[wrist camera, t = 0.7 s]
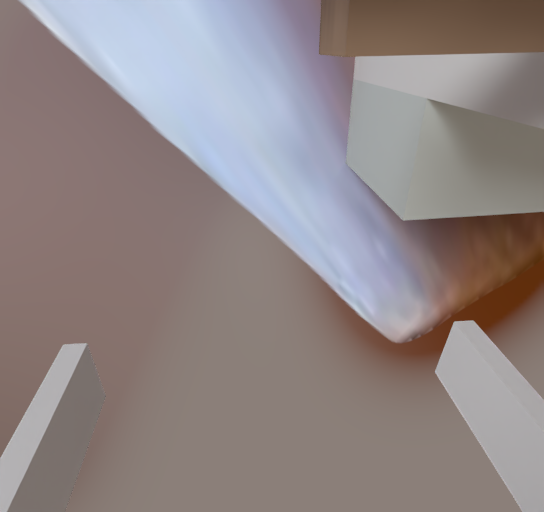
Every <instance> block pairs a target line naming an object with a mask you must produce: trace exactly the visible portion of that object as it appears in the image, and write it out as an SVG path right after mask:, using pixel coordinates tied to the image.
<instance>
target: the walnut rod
mask: <svg viewBox="0 0 544 512" xmlns="http://www.w3.org/2000/svg"><path fill="white" fill-rule="evenodd" d="M530 52H544V0H321V20H320V42H319V54H320V55H331V56H342V57H359V56H402V55H445V54H487V53H530Z"/></svg>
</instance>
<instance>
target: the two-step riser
mask: <svg viewBox="0 0 544 512" xmlns="http://www.w3.org/2000/svg"><path fill="white" fill-rule="evenodd" d="M346 164H347V165H348V166H349V167H350V168H351V169H352V170H353V171H354V172H355V173H356V174H357V175H358V176H359V177H360V178H361V179H362V180H363V181H364V182H365V183H366V184H367V185H368V186H369V187H370V188H371V189H372V190H373V191H374V192H375V193H376V194H377V195H378V196H379V197H380V198H381V199H382V200H383V201H384V202H385V203H386V204H387V205H388V206H389V207H390V208H391V209H392V210H393V211H394V212H395V213H396V214H397V215H398V216H399V217H400V218H401V219H402V220H403V221H404V220H420V219H436V218H452V217H467V216H483V215H499V214H515V213H531V212H544V52H530V53H487V54H445V55H402V56H359V57H355V67H354V78H353V89H352V100H351V111H350V121H349V132H348V143H347V154H346Z"/></svg>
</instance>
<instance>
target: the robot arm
mask: <svg viewBox="0 0 544 512" xmlns="http://www.w3.org/2000/svg"><path fill="white" fill-rule="evenodd" d="M435 373H436V374H437V376H438V378H439V379H440V381H441V382H442V384H443V386H444V387H445V389H446V390H447V392H448V394H449V395H450V397H451V398H452V400H453V402H454V403H455V405H456V406H457V408H458V410H459V411H460V413H461V414H462V416H463V417H464V419H465V421H466V422H467V424H468V425H469V427H470V429H471V430H472V432H473V433H474V435H475V437H476V438H477V440H478V441H479V443H480V444H481V446H482V448H483V449H484V451H485V452H486V454H487V456H488V457H489V459H490V461H491V462H492V464H493V465H494V467H495V468H496V470H497V472H498V473H499V475H500V476H501V478H502V480H503V481H504V483H505V484H506V486H507V488H508V489H509V491H510V492H511V494H512V496H513V497H514V499H515V500H516V502H517V503H518V505H519V507H520V508H521V510H522V512H544V400H543V399H542V398H541V396H540V395H539V394H538V393H537V392H536V391H535V390H534V389H533V387H532V386H531V385H530V384H529V383H528V382H527V381H526V380H525V378H524V377H523V376H522V375H521V374H520V373H519V372H518V370H517V369H516V368H515V367H514V366H513V365H512V364H511V363H510V361H508V359H507V358H506V357H505V356H504V355H503V353H502V352H501V351H500V350H499V349H498V348H497V347H496V346H495V344H494V343H493V342H492V341H491V340H490V339H489V338H488V337H487V335H486V334H485V333H484V332H483V331H482V330H481V329H480V327H479V326H478V325H477V324H476V323H475V322H474V321H457V322H454V324H453V326H452V329H451V331H450V334H449V336H448V339H447V342H446V345H445V347H444V350H443V352H442V355H441V358H440V360H439V363H438V366H437V368H436V371H435ZM105 397H106V396H105V393H104V390H103V387H102V384H101V381H100V378H99V375H98V373H97V370H96V367H95V364H94V361H93V358H92V355H91V353H90V350H89V347H88V344H87V343H83V344H66V345H63V346H62V348H61V350H60V352H59V354H58V355H57V357H56V359H55V361H54V362H53V364H52V366H51V368H50V370H49V371H48V373H47V375H46V377H45V379H44V380H43V382H42V384H41V386H40V388H39V389H38V391H37V393H36V395H35V397H34V399H33V400H32V402H31V404H30V406H29V408H28V409H27V411H26V413H25V415H24V416H23V418H22V420H21V422H20V424H19V426H18V427H17V429H16V431H15V433H14V435H13V436H12V438H11V440H10V442H9V444H8V445H7V447H6V449H5V451H4V453H3V454H2V456H1V458H0V512H65V510H66V508H67V505H68V502H69V499H70V496H71V494H72V491H73V488H74V485H75V482H76V479H77V476H78V474H79V470H80V468H81V465H82V462H83V460H84V457H85V454H86V451H87V448H88V445H89V442H90V439H91V437H92V434H93V431H94V428H95V425H96V423H97V420H98V417H99V414H100V411H101V408H102V405H103V403H104V400H105Z"/></svg>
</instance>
